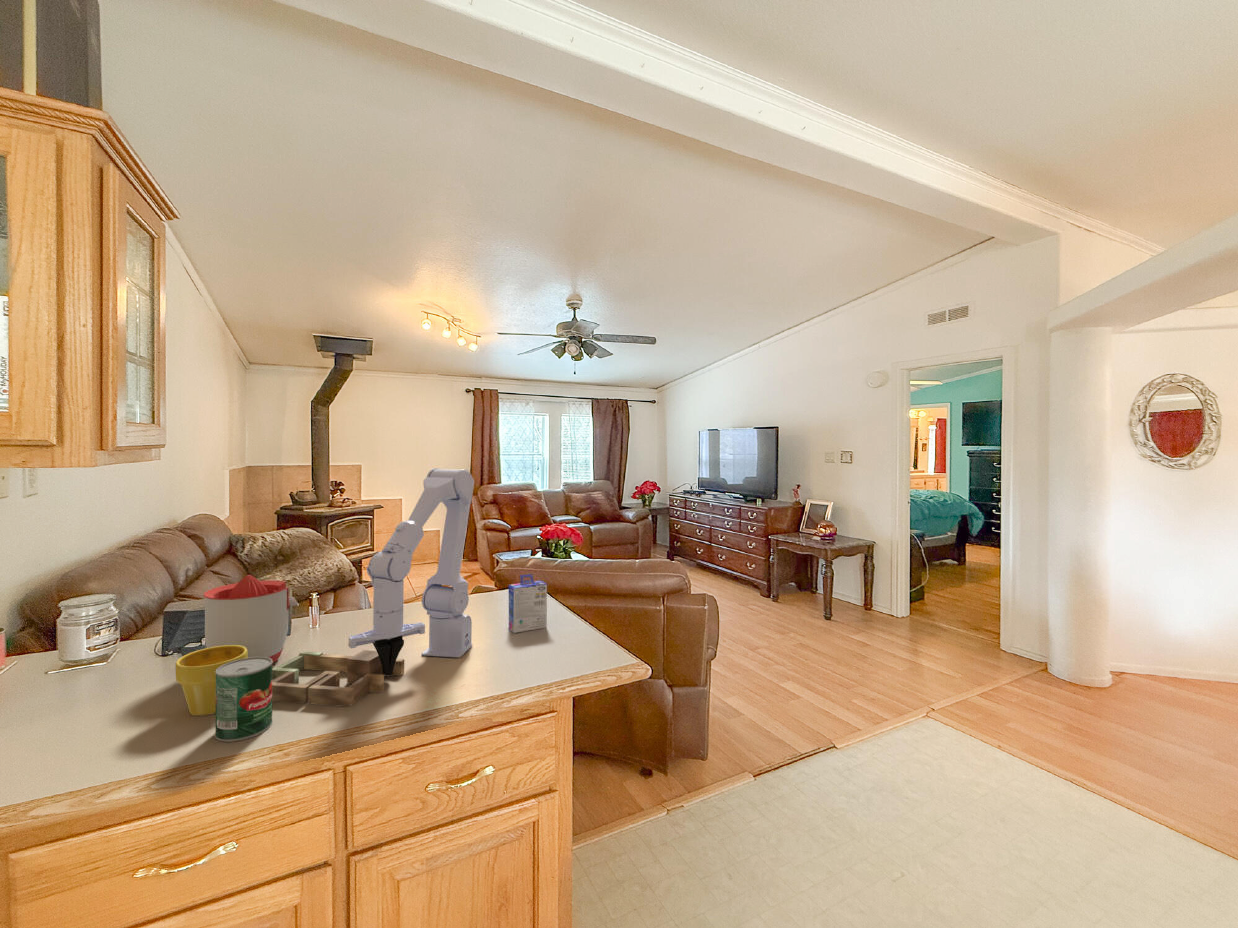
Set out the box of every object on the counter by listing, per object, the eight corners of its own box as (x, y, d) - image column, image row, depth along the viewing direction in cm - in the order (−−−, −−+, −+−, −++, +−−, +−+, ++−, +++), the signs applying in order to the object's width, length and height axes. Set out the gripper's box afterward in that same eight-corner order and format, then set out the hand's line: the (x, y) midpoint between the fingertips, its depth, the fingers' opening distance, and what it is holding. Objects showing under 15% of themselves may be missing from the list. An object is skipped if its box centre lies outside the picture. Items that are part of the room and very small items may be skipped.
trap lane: (404, 672, 109) (404, 657, 109) (361, 707, 94) (361, 689, 94) (302, 666, 112) (303, 651, 112) (245, 698, 97) (245, 681, 97)
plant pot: (188, 727, 86) (188, 671, 86) (166, 710, 92) (166, 657, 92) (257, 703, 95) (257, 651, 95) (233, 689, 100) (233, 640, 100)
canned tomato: (225, 721, 88) (225, 659, 88) (277, 714, 91) (278, 653, 91) (206, 746, 81) (207, 678, 81) (264, 737, 84) (265, 671, 84)
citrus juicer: (302, 664, 113) (303, 575, 112) (202, 686, 102) (202, 587, 101) (294, 643, 125) (294, 563, 124) (203, 660, 114) (203, 572, 114)
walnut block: (384, 675, 108) (384, 651, 108) (369, 685, 103) (369, 660, 103) (363, 673, 109) (363, 650, 109) (347, 682, 104) (347, 658, 104)
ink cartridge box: (540, 622, 144) (541, 571, 144) (547, 628, 139) (548, 575, 139) (506, 627, 139) (507, 575, 139) (513, 633, 134) (514, 579, 134)
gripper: (417, 599, 113) (416, 659, 113) (345, 610, 104) (344, 676, 104) (428, 606, 107) (427, 669, 108) (353, 619, 98) (352, 688, 98)
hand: (387, 673), depth 105 cm, fingers closed
